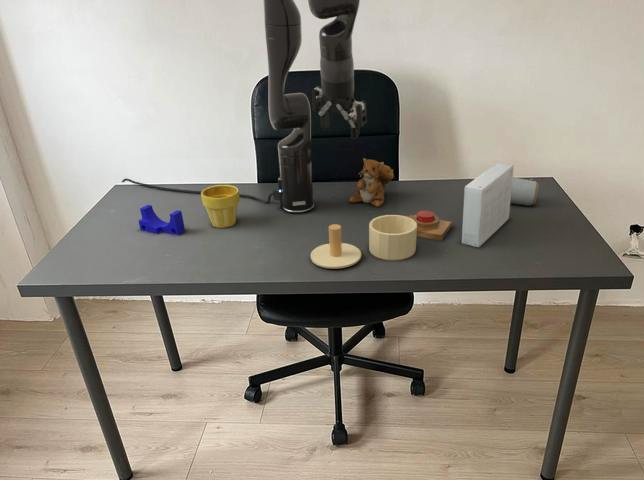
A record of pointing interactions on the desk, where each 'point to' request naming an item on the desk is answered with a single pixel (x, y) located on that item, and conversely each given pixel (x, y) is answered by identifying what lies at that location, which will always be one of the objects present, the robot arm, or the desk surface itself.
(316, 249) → the lid
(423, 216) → the button
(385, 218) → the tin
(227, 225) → the flower pot
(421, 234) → the button block
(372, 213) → the desk surface
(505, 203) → the skincare box
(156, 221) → the blue cradle stand
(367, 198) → the stuffed squirrel
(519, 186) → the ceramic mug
